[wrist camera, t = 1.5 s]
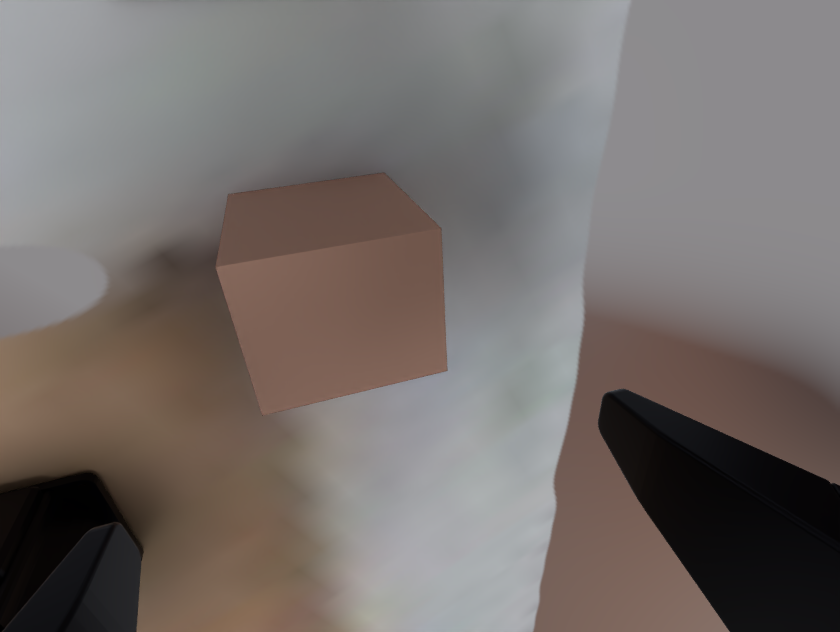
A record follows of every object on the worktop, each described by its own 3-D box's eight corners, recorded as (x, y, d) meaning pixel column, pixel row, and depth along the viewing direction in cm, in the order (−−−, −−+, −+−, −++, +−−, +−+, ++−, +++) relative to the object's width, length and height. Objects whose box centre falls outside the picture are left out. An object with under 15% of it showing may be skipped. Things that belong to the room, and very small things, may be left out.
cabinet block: (396, 298, 22) (448, 389, 16) (264, 325, 21) (268, 434, 15) (383, 172, 19) (441, 228, 13) (228, 194, 18) (215, 266, 12)
